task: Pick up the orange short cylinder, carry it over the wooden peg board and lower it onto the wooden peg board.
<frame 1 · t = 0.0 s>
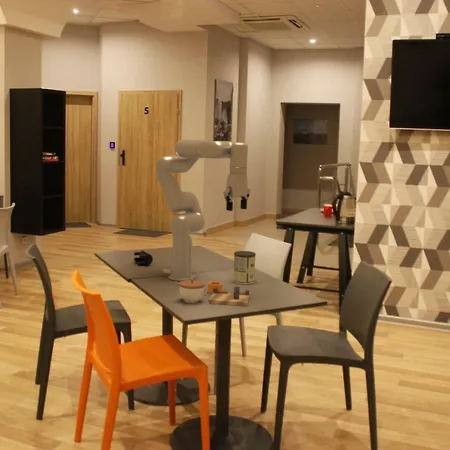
hand: (236, 209, 281), 37 cm above the table, tool pointing down, fingers open, 9 cm apart
orange short cylinder: (214, 292, 285), on the table
lidded jar: (191, 301, 269), on the table
end cap: (143, 265, 335), on the table
coffee can: (243, 282, 307), on the table
wooden peg board: (229, 300, 273), on the table
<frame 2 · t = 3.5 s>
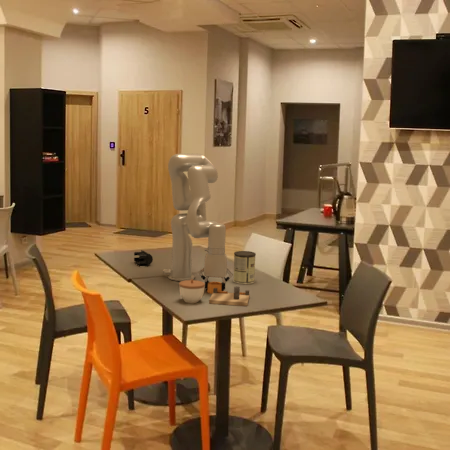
hand: (214, 290, 285), 1 cm above the table, tool pointing down, fingers closed on orange short cylinder, 6 cm apart
orange short cylinder: (214, 292, 285), on the table, touching gripper
everything else where it was.
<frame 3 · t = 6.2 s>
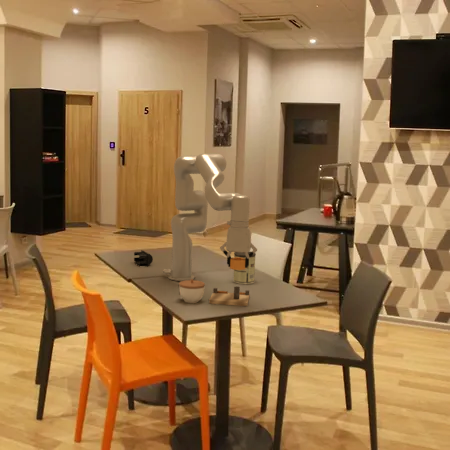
hand: (237, 266, 268), 16 cm above the table, tool pointing down, fingers closed on orange short cylinder, 6 cm apart
orange short cylinder: (237, 268, 268), point 15 cm above the table, touching gripper
everything else where it was.
when the fingers open (5 cm above the table, at t = 9.0 s): orange short cylinder drops 3 cm, resting on wooden peg board.
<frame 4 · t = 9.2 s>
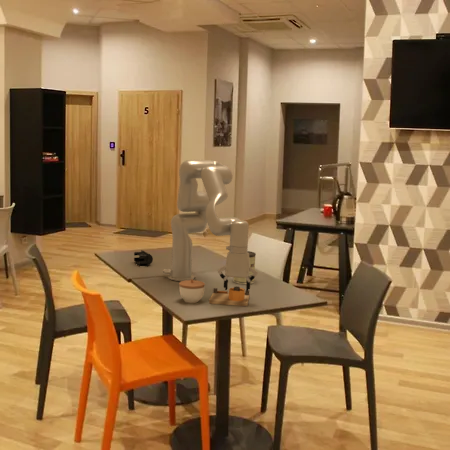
hand: (236, 290, 269), 5 cm above the table, tool pointing down, fingers open, 8 cm apart
orange short cylinder: (236, 298, 270), point 1 cm above the table, touching wooden peg board
everything else where it was.
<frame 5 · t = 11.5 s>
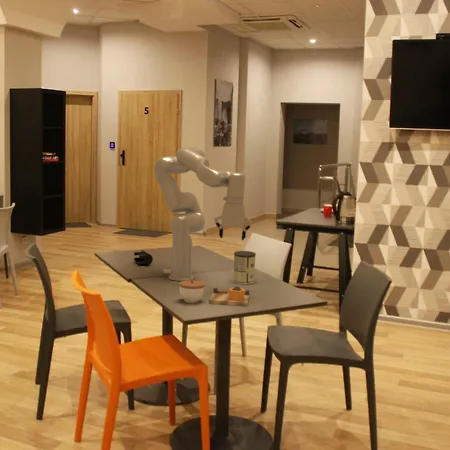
hand: (232, 238, 284), 24 cm above the table, tool pointing down, fingers open, 9 cm apart
nothing on the table moved.
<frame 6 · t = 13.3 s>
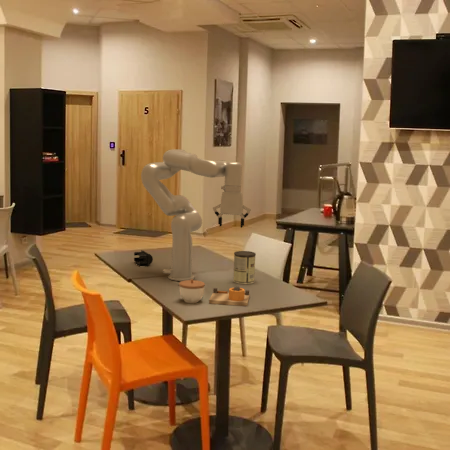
hand: (231, 226, 291), 28 cm above the table, tool pointing down, fingers open, 9 cm apart
nothing on the table moved.
at the end: orange short cylinder 0.0 cm from the target spot on the wooden peg board, point 1.5 cm above the wooden peg board's base; the gripper is holding nothing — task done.
